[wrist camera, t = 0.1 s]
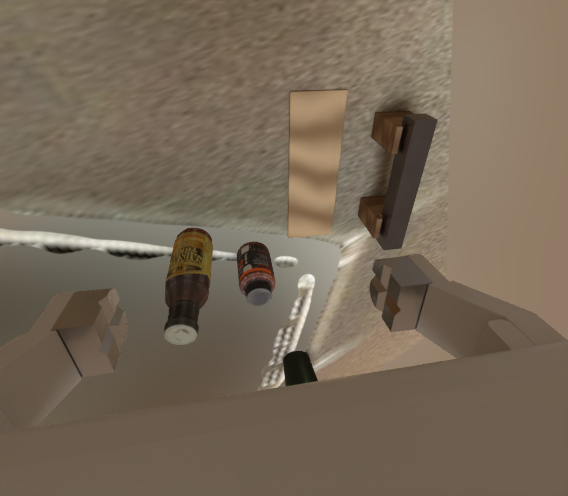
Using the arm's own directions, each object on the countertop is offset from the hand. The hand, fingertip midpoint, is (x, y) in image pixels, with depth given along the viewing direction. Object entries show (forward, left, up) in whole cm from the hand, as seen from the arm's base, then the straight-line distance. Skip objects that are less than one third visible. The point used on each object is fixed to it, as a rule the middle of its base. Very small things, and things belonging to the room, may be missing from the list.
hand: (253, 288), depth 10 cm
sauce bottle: (+25, -8, -39) cm, 47 cm away
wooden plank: (+14, +13, -39) cm, 43 cm away
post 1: (+21, +24, -39) cm, 50 cm away
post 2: (+7, +24, -39) cm, 46 cm away
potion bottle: (+64, +11, -39) cm, 76 cm away
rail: (+14, +24, -33) cm, 43 cm away
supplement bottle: (+29, +2, -39) cm, 49 cm away
